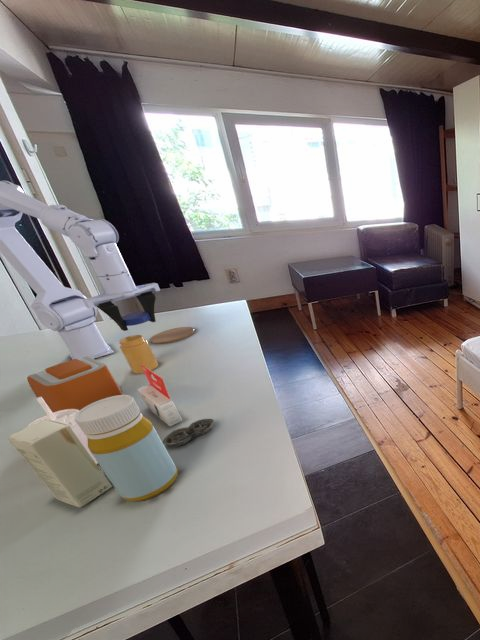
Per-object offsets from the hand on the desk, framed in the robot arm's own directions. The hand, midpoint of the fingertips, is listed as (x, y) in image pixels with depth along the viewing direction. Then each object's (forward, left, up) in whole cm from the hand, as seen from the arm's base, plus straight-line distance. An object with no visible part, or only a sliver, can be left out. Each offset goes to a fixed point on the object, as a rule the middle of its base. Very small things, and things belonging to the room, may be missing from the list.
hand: (138, 325), depth 94 cm
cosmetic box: (+49, -20, -10) cm, 53 cm away
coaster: (-13, +8, -9) cm, 18 cm away
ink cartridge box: (+35, -6, -10) cm, 36 cm away
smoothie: (+41, -19, -10) cm, 46 cm away
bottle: (+56, -13, -10) cm, 58 cm away
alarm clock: (+27, -15, -10) cm, 32 cm away
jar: (+6, -3, -9) cm, 11 cm away
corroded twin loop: (+47, -5, -9) cm, 48 cm away
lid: (0, 0, +2) cm, 2 cm away
